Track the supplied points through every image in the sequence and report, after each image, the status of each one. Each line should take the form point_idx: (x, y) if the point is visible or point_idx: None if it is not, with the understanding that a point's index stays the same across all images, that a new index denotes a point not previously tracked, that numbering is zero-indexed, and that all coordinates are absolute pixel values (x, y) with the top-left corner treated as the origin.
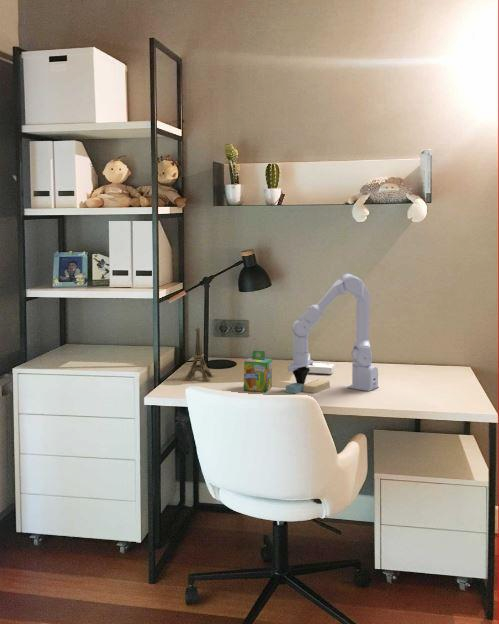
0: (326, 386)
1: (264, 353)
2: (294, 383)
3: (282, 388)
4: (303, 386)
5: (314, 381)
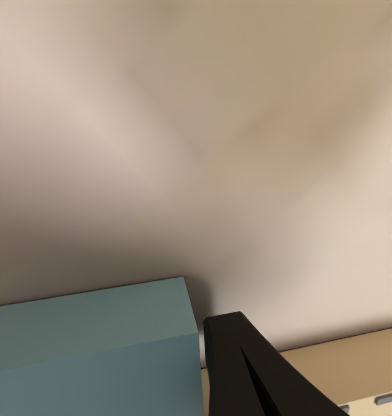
0: None
1: None
2: (157, 358)
3: (101, 143)
4: None
5: (381, 401)
